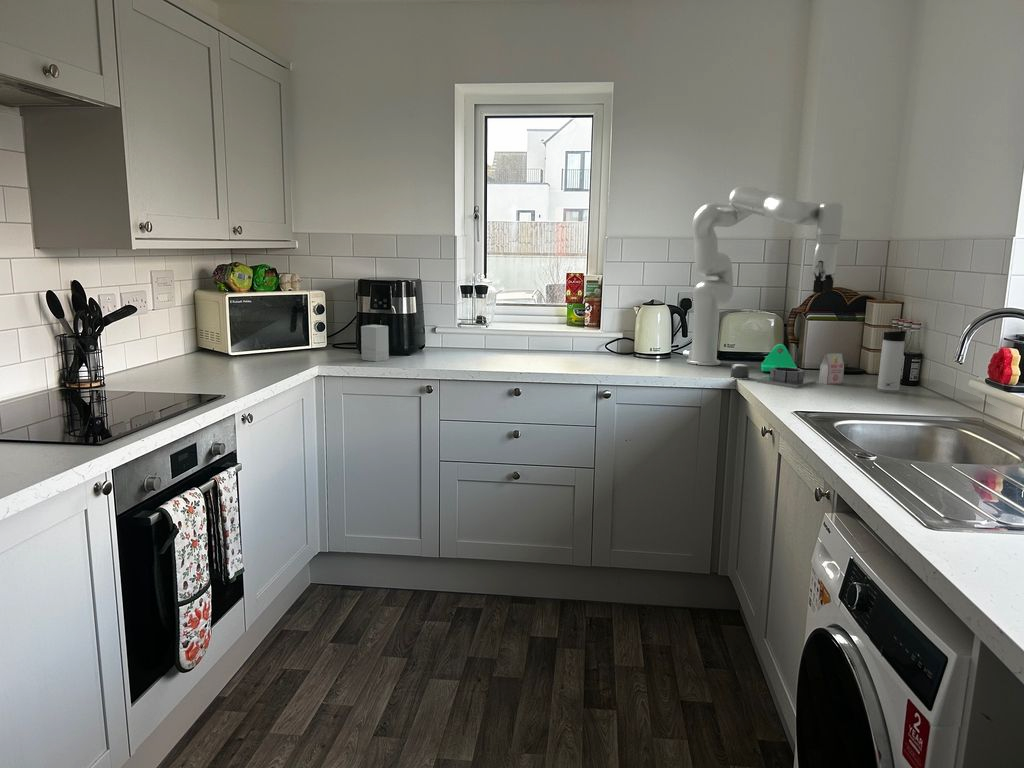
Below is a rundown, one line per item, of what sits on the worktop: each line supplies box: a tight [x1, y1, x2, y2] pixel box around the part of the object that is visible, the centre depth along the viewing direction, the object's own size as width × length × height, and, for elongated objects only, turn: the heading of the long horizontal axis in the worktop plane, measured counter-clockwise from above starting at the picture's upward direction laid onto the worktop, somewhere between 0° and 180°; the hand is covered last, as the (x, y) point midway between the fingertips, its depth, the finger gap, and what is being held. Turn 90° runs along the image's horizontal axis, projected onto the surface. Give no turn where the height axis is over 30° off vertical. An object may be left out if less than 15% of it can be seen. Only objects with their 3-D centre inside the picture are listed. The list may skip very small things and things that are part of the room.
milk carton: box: [818, 353, 845, 385], centre depth 259 cm, size 4×7×10 cm, turn 110°
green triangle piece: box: [760, 343, 798, 372], centre depth 277 cm, size 12×8×10 cm, turn 73°
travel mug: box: [876, 330, 907, 394], centre depth 244 cm, size 6×7×20 cm
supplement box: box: [360, 324, 390, 362], centre depth 284 cm, size 7×7×13 cm
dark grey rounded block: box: [730, 363, 750, 379], centre depth 266 cm, size 6×6×4 cm
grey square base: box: [756, 367, 817, 389], centre depth 258 cm, size 14×14×4 cm
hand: (822, 292), depth 259 cm, fingers open, 9 cm apart
